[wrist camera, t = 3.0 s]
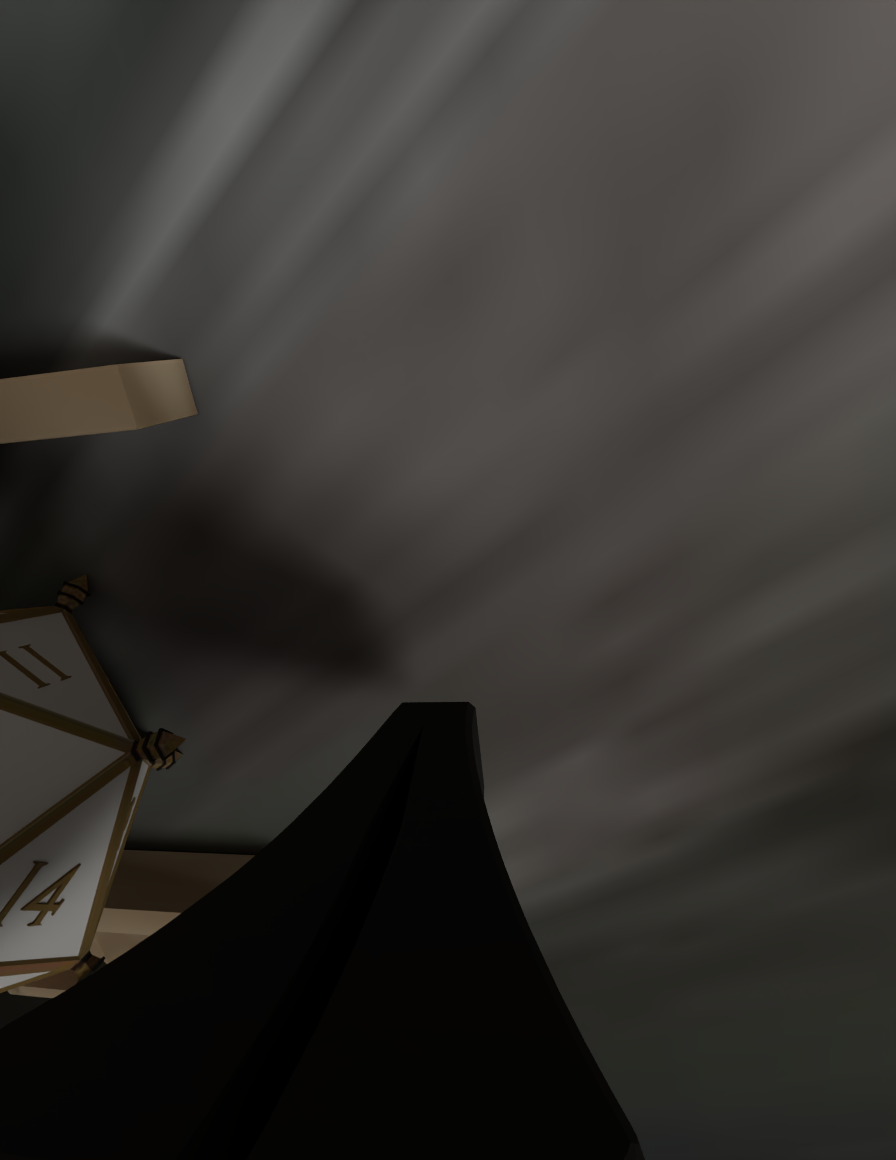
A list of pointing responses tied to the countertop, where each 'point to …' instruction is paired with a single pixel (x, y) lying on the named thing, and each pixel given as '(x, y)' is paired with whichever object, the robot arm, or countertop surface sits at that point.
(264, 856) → the robot arm
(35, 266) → the countertop surface
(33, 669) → the game die
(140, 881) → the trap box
